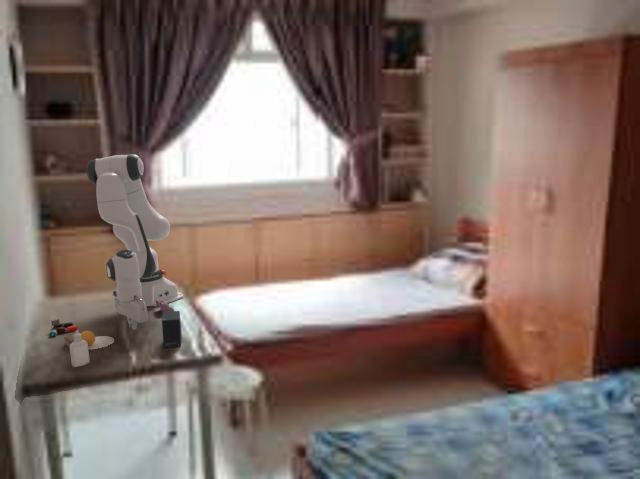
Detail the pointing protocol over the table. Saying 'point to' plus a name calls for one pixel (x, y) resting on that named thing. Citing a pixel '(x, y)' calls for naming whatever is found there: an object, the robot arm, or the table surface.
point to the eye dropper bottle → (79, 351)
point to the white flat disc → (101, 342)
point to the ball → (88, 337)
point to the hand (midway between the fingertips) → (133, 328)
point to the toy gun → (61, 327)
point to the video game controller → (163, 305)
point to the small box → (171, 329)
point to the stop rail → (68, 340)
